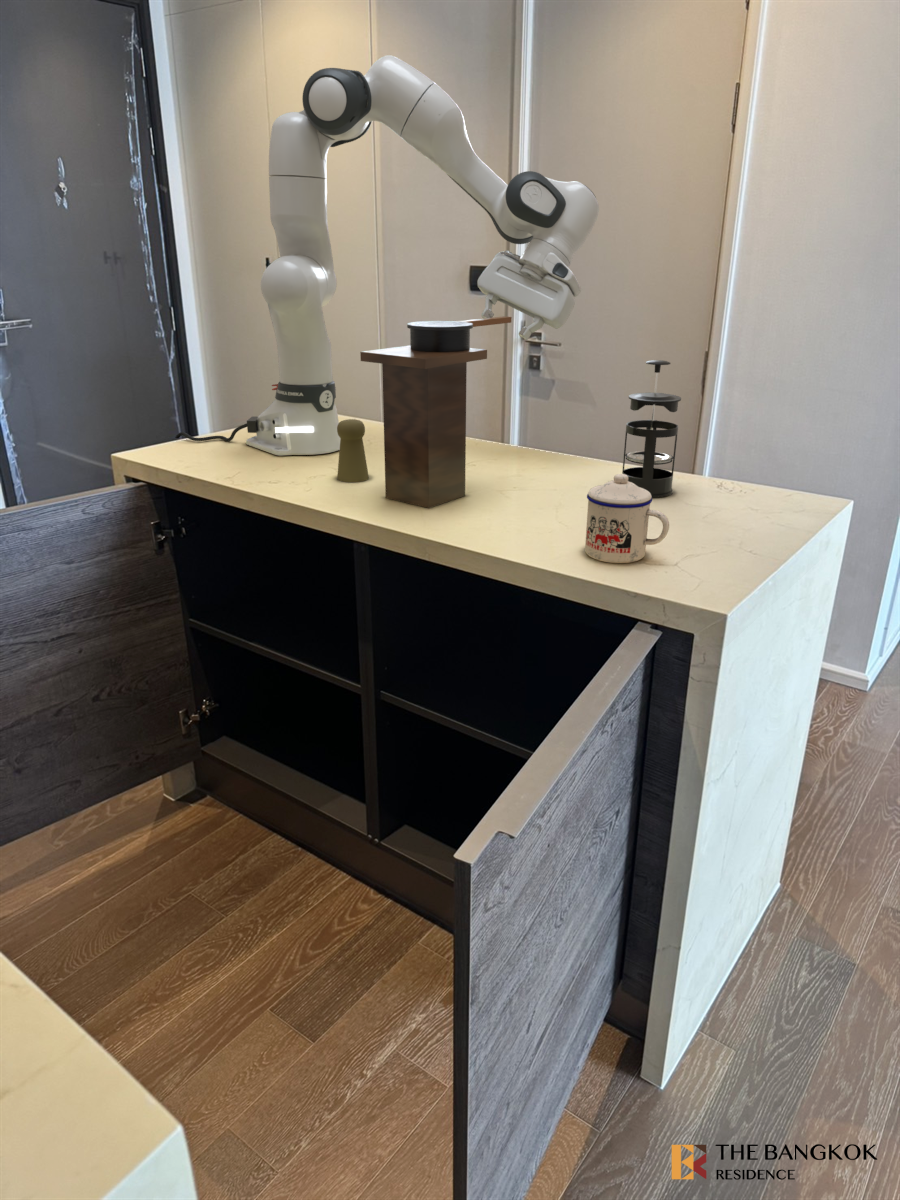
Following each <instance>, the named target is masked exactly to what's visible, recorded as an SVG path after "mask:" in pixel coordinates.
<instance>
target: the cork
mask: <svg viewBox="0 0 900 1200" xmlns="http://www.w3.org/2000/svg"><path fill="white" fill-rule="evenodd" d="M337 432H338V436H339V437H340V438H341V439H340V450H338V451H339V452H338V453H339V454H338V463H337V464H338V465H337V477H336V479H337V480H338V481H340V482H345V483H360V482H364V481H367V480H369V479H370V476H369V470H368V463H367V458H366V452H365V446H364V440H363V438H364V436H365V434H366V427H365V424H364V422H363V421H361V420H359V419H355V418H354V419H353V418H352V419H350V418H349V419H343V420H340V421H339V424H338V426H337Z"/></svg>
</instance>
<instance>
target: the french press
mask: <svg viewBox="0 0 900 1200" xmlns="http://www.w3.org/2000/svg"><path fill="white" fill-rule="evenodd" d="M645 364H646V365H651V366H652V365H654V373H655V379H654V390H653V392H638V393H632V394H629V395H628V399H629V400H630V405H629V406H630V407H629V409H630V410H631V411H633V412H636V411H639V410H640V409H642V408H644V407H645V406H652V410H651V411H652V413H651V419H639V420H631V421H628V422H626V423H625V434H624V435H625V436H624V448H623V457H622V473H621V474H625V475H627V476H628V481H629V482H632V483H634V484H635V485H636V486H638V487H640V488H643V489H645V490H647V491H649V492H650V494H651V496H652V499H658V498H666V497H669V496H671V495H672V494H673V492H674V491H673V490H674V489H673V480H674V472H675V463H676V462H675V461H676V452H677V443H678V434H679V425H678V424H676V423H674V422H669V421H665V420H657V419H655V412H656V411H655V410H656V407H663V408H664V409H666V410H667V411H668V412H670V413H677V411H678V409H679V408H678V407H679V402H681V401H682V397H681V396H679V395H676V394H675V395H674V394H670V393H663V392H657V390H658V380H659V374H660V373H661V366H669V365H671V362H670V361H667V360H662V359H652V360H651V359H650V360H647V361H645ZM628 434H629V435H631V436H635V437H643V438H645V439H644V448H643V449H644V450H635V451H629V452H627V440H628ZM671 437H674V446H673V455H671V454H669V453H666V452H661V451H656V449H657V447H656V446H657V438H659V439H660V438H662V439H663V438H671ZM626 452H627V453H626ZM626 461H628V462H631V463H635V464H639V465H642V466H635V467H627V468H625V464H626V463H625V462H626ZM670 463H672V464H671V465H672V466H671V471H670V470H667V469H663V468H659V467H655V466H658V465H667V464H670Z"/></svg>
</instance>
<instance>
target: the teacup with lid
mask: <svg viewBox="0 0 900 1200" xmlns="http://www.w3.org/2000/svg"><path fill="white" fill-rule="evenodd" d="M586 498H587V515H586V529H585V543H584V551H585V554H587V556H588V557H590V558H591V559H594V560H596V561H600V562H604V563H611V564H628V563H634V562H637V561H640V560H641V559H643V558H644V557H645V555H646V552H647V551H646V550H647V546H653V545H657V544H659V543H661V542H662V541H663V540H664V539H666V537H667V535H668V533H669V530H670V521H669V518H668V516H666V514H664V513H663V512H662V511H659V510H655V509H651V503H652V502H653V498H652V496H651V494H650V492H649V491H647V490H645V489H643V488H640V487H638V486H636V485H635V484H634V483H632V482H629V481H628V476H627V475H625V474H622V473H617V474H615V475H613V480H610V481H609V480H608V481H607V482H604V483H603V484H600V485H599V484H598V485H595V486H593V487H591V488H590V489H589V490H588V491H587V494H586ZM650 516H651V517H654V518H657V519H659V520H660V522H661V523H662V530H661V533H660V535H659V536H658V537H656V538H648V528H649V519H650Z"/></svg>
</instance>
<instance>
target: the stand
mask: <svg viewBox="0 0 900 1200" xmlns="http://www.w3.org/2000/svg"><path fill="white" fill-rule="evenodd" d="M359 354H360V362H364V363H375V364H381V369H382V370H381V371H382V373H381V375H382V405H383V406H382V408H383V409H382V410H383V411H382V412H383V413H382V414H383V440H384V441H383V447H384V450H383V451H384V452H383V453H384V484H385V485H384V486H385V487H384V489H385V490H384V491H385V499H389V500H394V501H396V502H402V503H406V504H410V505H414V506H417V507H422V508H426V509H431V508H434V507H437V506H439V505H443V504H445V503H448V502H451V501H454V500H458V499H460V498H464V497H466V462H467V461H466V454H467V452H466V450H467V449H466V448H467V372H468V371H467V370H468V369H467V367H468V366H467V365H468V363H469V362H470V363H471V362H475V361H481V360H483V361H484V360H487V359H488V349H485V348H474V347H470V349H469V350H465V351H457V352H424V351H416V350H412V349H411V348H410V344H409V345H401V346H394V347H393V346H392V347H387V348H378V349H371V350H363V351H360V353H359Z"/></svg>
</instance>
